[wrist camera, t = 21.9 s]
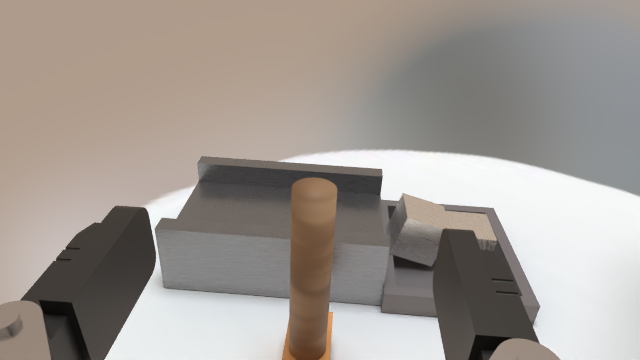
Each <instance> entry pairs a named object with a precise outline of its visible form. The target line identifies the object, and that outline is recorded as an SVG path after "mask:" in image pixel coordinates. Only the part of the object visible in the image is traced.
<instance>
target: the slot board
mask: <svg viewBox="0 0 640 360" xmlns="http://www.w3.org/2000/svg"><path fill="white" fill-rule="evenodd" d="M197 164H198V174H199V182H198V184H197V185H196V187H195V189H194V190H193V192H192V194H191V195H190V197H189V199H188V200H187V202H186V204H185V205H184V207H183V209H182V210H181V212H180V214H179V215H178V217H177V219H170V218H161V220H160V221H159V223H158V225H157V226H156V228H155V234H156V240H157V246H158V252H159V259H160V265H161V271H162V277H163V284H164V288H173V289H185V290H197V291H209V292H221V293H233V294H246V295H258V296H270V297H282V298H290V254H291V190H292V185H293V184H294V183H295V182H296V181H298V180H301V179H304V178H322V179H326V180H329V181H331V182H332V183H334V184H335V185H336V187H337V201H336V215H335V229H334V243H333V257H332V270H331V284H330V298H329V301H331V302H343V303H355V304H367V305H379V306H381V303H382V296H383V289H384V282H385V276H386V269H387V262H388V256H389V249H390V244H389V235H384V231H383V220H382V208H381V197H380V193H381V185H382V177H383V176H382V169H372V168H358V167H344V166H330V165H316V164H302V163H288V162H274V161H260V160H245V159H231V158H218V157H204V156H202V157H201V158H200V160H199V162H198V163H197Z"/></svg>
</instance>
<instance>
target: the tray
mask: <svg viewBox="0 0 640 360" xmlns="http://www.w3.org/2000/svg"><path fill="white" fill-rule="evenodd" d="M398 202H399V201H390V200H381V208H382V220H383V231H384V235H387V229H386V227H387V225H388V223H389V221H390V219H391V217H392V215H393V213H394V211H395V209H396V206H397V204H398ZM438 205H441V206H444V209H445V211H455V212H466V213H478V214H487V217H488V219H489V222H490V224H491V227H492V229H493V231H494V234H495V236H496V239H497V243H496V247H495V250H494V252H495V253H496V254H497V255H498V256H499V257H500V258H501V259H502V260H503V261H504V262H505V263H506V264H507V266H508V269H509V271H510V274H511V276H512V278H513V283H515V286H516V288H517V290H518V296H520V298H521V300H522V302H523V305H524V307H525V310H526V312H527V314H528V317H529V319H530V322H531V324H532V325H533V324H534V321H535V318H536V316H537V313H538V311H539V308H540V305H539V303H538V301H537V299H536V297H535V295H534V293H533V291H532V288H531V286H530V284H529V282H528V280H527V278H526V276H525V274H524V272H523V269H522V267H521V265H520V263H519V261H518V259H517V257H516V255H515V253H514V250H513V248H512V246H511V244H510V242H509V240H508V238H507V236H506V234H505V232H504V229H503V227H502V225H501V223H500V221H499V219H498V217H497V215H496V213H495V210H494V208H485V207H472V206H458V205H444V204H438ZM435 263H436V260H435V261H434V263H433V265H432V266H428V265H424V264H421V263H418V262H415V261H411V260H408V259H405V258H402V257H398V256H395V255H392V254H389V256H388V262H387V269H386V276H385V282H384V289H383V296H382V303H381V312H383V313H395V314H407V315H419V316H431V317H437V312H436V307H435V302H434V296H433V273H434V268H435Z"/></svg>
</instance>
